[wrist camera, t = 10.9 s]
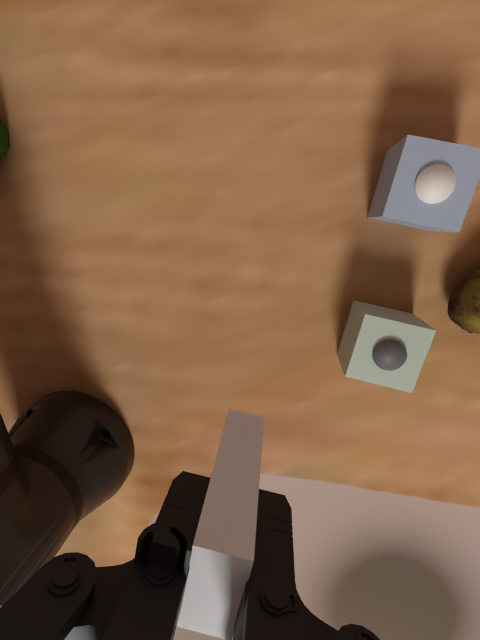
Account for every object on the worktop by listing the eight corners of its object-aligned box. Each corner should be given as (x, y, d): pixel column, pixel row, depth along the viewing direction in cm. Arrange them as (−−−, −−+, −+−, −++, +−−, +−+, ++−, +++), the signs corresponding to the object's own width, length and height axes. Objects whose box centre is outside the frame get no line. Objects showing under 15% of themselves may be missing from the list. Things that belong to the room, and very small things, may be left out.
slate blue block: (432, 231, 33) (464, 233, 27) (366, 217, 34) (383, 216, 28) (456, 164, 32) (496, 149, 25) (386, 150, 32) (409, 133, 26)
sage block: (395, 367, 37) (415, 395, 31) (336, 353, 38) (345, 377, 32) (415, 314, 35) (440, 332, 29) (353, 299, 36) (365, 314, 30)
